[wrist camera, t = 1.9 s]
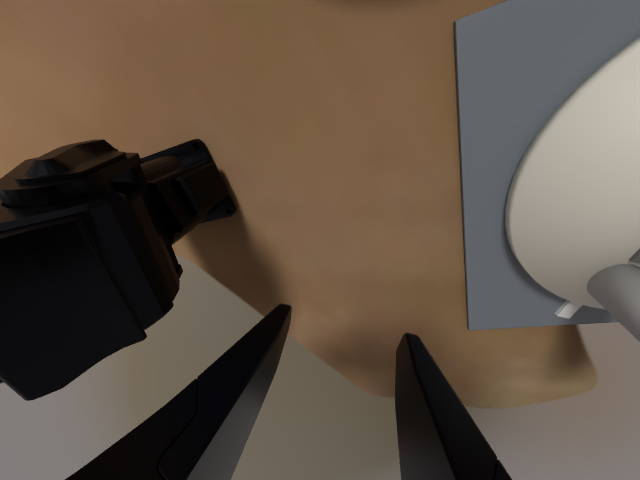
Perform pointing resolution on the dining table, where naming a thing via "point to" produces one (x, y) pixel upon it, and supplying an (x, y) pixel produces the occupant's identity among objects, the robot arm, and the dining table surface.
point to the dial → (585, 194)
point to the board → (521, 135)
